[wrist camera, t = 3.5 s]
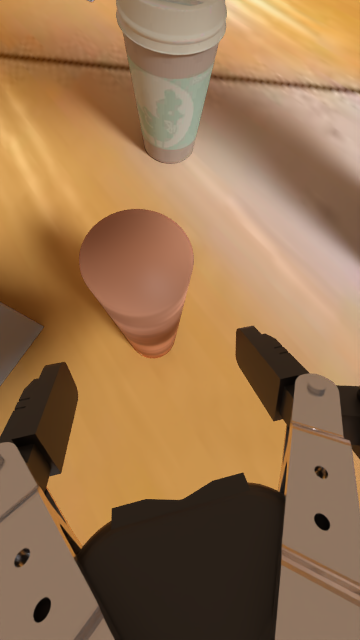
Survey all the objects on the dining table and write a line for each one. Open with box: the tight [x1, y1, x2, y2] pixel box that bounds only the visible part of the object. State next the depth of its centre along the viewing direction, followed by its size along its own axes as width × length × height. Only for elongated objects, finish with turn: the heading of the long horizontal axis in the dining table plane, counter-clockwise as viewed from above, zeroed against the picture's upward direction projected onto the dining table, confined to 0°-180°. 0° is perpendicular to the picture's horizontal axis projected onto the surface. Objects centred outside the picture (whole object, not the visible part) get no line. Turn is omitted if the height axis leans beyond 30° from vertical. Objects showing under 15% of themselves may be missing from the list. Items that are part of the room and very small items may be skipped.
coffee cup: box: [116, 0, 227, 163], centre depth 22 cm, size 8×8×12 cm
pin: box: [79, 209, 194, 358], centre depth 15 cm, size 4×4×14 cm
